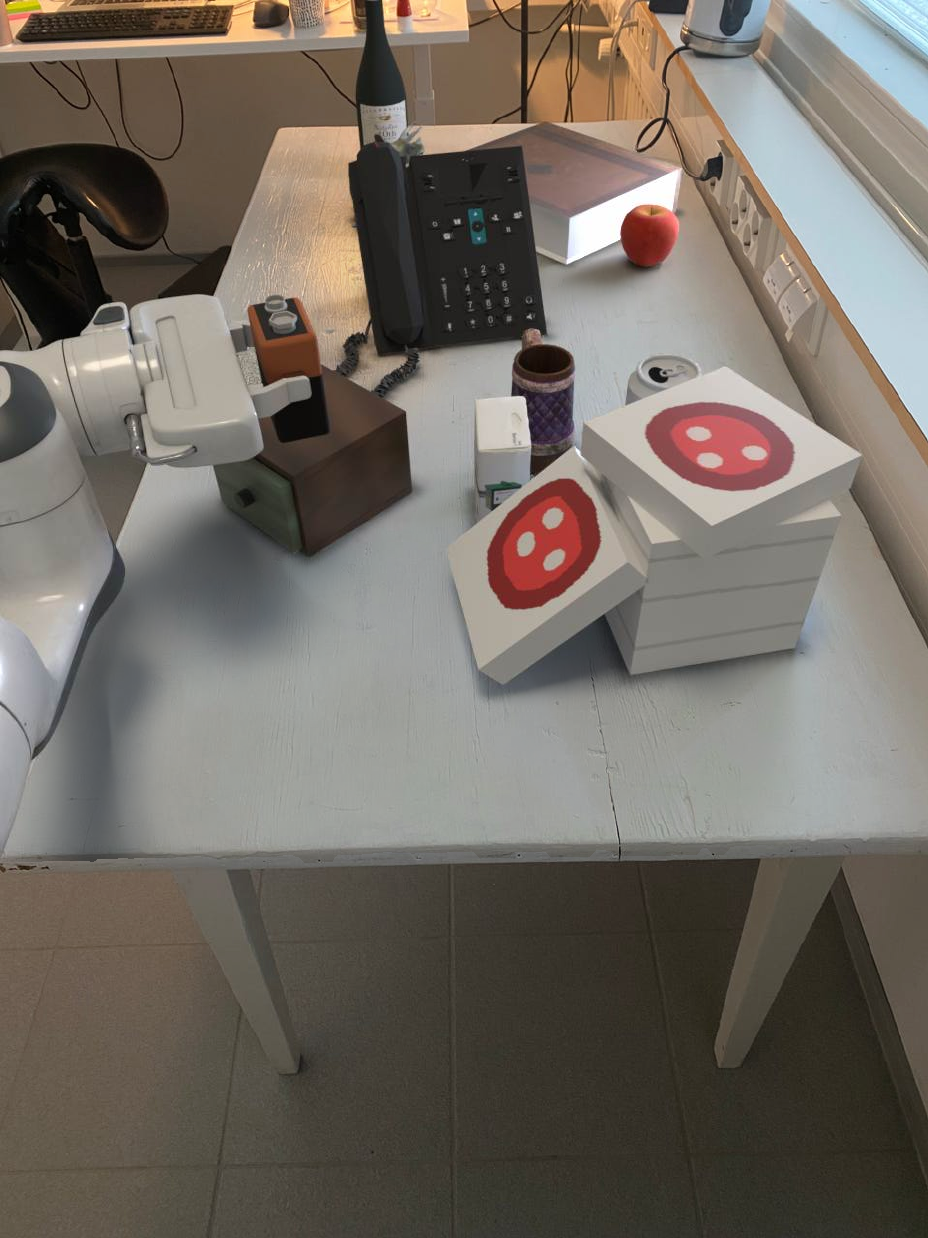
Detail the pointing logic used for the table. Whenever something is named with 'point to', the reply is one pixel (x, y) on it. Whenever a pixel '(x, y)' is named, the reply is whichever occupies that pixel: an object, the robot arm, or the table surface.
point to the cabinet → (343, 463)
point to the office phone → (443, 251)
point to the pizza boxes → (661, 534)
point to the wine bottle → (379, 84)
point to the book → (585, 187)
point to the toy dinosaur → (403, 146)
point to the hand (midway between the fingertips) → (298, 357)
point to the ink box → (500, 451)
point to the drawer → (261, 499)
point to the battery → (290, 364)
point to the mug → (545, 397)
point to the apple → (649, 234)
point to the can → (659, 375)
